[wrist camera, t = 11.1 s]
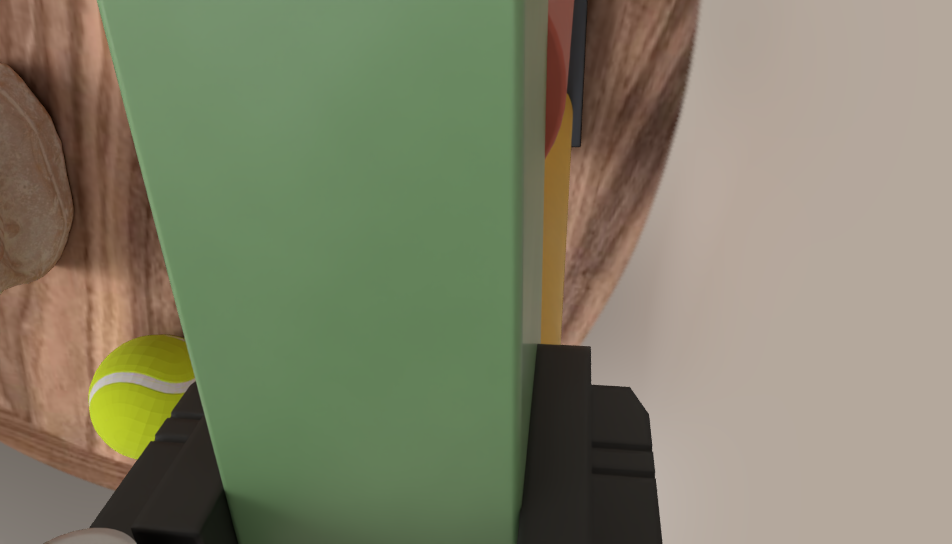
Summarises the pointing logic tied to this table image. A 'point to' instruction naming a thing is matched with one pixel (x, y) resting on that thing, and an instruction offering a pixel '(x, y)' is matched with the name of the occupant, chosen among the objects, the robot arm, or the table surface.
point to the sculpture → (29, 186)
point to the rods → (560, 148)
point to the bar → (350, 251)
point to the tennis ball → (138, 390)
